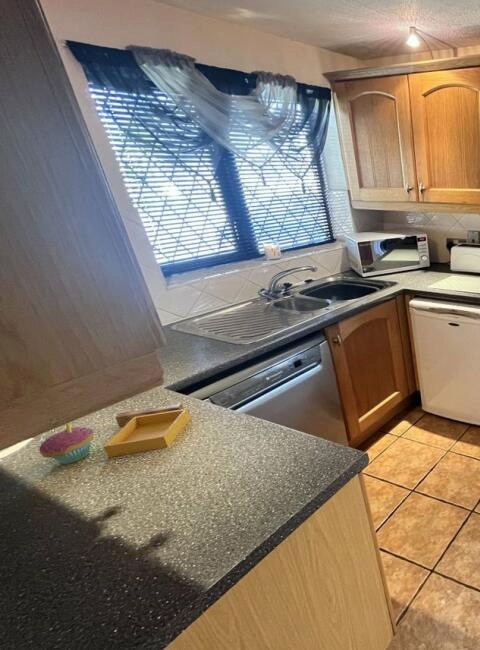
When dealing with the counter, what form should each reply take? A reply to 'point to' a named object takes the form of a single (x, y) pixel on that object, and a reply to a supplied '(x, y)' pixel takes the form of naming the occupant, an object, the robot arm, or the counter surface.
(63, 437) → the cupcake
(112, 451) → the tray
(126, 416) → the rail
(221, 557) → the counter surface
